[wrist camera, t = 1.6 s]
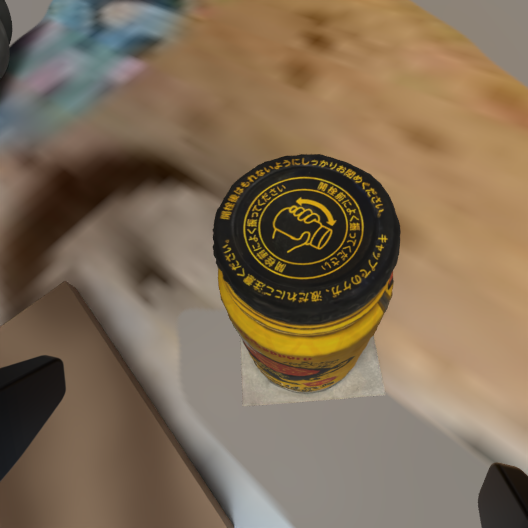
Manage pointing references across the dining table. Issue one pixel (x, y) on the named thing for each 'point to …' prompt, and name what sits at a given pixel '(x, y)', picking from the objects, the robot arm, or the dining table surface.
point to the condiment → (306, 277)
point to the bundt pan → (4, 36)
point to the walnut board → (96, 436)
